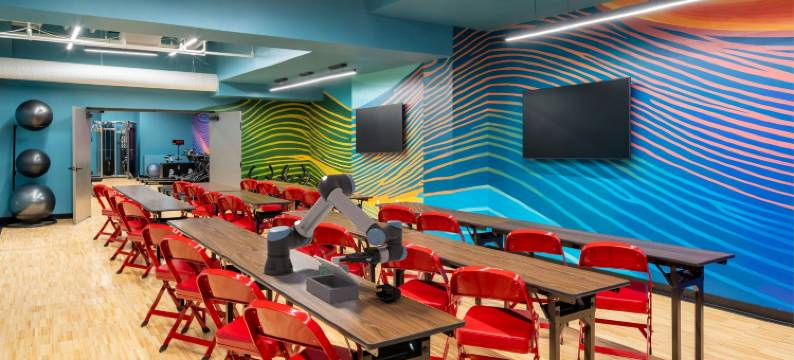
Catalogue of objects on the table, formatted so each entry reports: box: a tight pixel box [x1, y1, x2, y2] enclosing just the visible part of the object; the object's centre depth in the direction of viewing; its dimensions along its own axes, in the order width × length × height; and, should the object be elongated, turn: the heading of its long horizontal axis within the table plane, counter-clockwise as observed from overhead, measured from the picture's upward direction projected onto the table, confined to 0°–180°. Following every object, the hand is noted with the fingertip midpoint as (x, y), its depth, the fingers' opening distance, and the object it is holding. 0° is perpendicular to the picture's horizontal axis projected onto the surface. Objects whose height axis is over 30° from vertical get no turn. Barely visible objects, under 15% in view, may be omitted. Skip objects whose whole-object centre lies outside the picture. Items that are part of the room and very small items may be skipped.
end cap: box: [375, 282, 402, 305], centre depth 216 cm, size 10×7×7 cm
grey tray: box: [305, 274, 360, 305], centre depth 223 cm, size 24×14×6 cm, turn 34°
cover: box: [313, 254, 361, 286], centre depth 224 cm, size 24×14×1 cm
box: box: [317, 263, 350, 280], centre depth 249 cm, size 7×14×8 cm, turn 74°
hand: (331, 260), depth 222 cm, fingers closed
